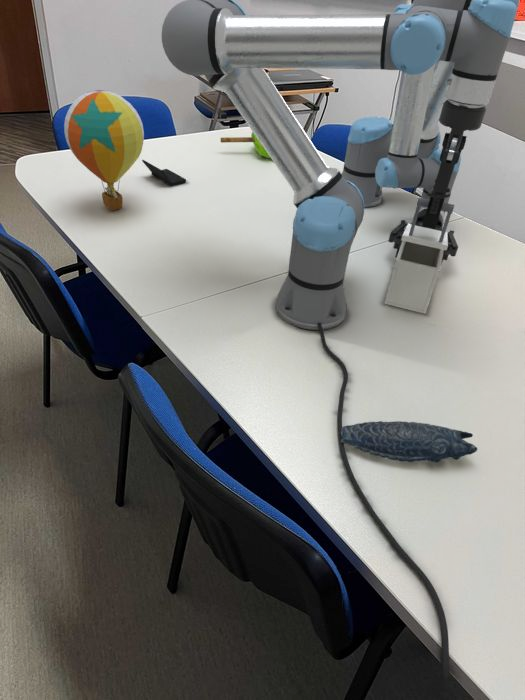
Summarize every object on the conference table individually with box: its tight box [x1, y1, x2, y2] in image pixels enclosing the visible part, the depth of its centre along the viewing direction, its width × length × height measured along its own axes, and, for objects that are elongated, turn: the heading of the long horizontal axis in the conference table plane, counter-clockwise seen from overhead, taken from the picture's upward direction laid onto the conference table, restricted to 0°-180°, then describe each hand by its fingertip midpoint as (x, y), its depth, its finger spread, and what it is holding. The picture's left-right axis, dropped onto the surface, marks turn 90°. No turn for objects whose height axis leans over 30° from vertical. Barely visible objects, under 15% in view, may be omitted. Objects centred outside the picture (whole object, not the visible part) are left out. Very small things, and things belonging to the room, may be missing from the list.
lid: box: [401, 197, 455, 250], centre depth 112 cm, size 18×9×9 cm, turn 160°
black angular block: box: [141, 159, 187, 187], centre depth 162 cm, size 12×7×10 cm
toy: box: [63, 89, 145, 212], centre depth 136 cm, size 20×20×30 cm
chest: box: [383, 241, 444, 315], centre depth 119 cm, size 17×9×11 cm, turn 160°
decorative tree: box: [220, 131, 271, 159], centre depth 187 cm, size 18×10×30 cm
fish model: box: [340, 420, 478, 463], centre depth 82 cm, size 7×21×5 cm, turn 84°
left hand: (429, 224), depth 108 cm, fingers closed on lid, 2 cm apart
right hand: (419, 257), depth 123 cm, fingers closed on chest, 9 cm apart
